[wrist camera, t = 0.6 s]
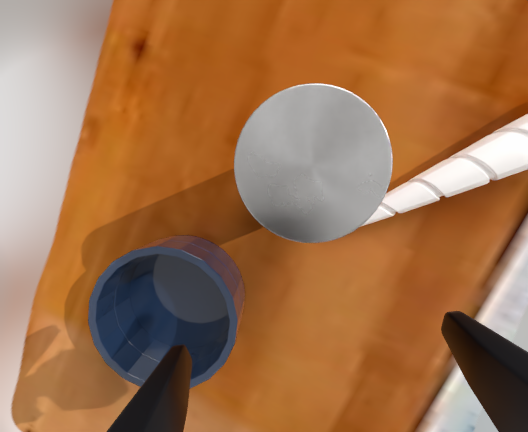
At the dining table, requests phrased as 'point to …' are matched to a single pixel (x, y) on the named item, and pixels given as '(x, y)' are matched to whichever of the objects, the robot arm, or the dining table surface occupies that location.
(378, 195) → the tin
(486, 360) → the robot arm
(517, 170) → the unicorn horn
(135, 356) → the pot
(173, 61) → the dining table surface
